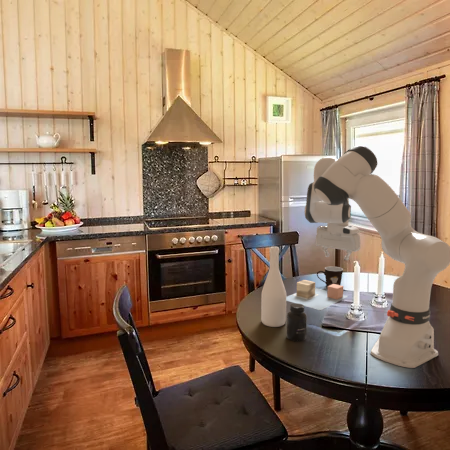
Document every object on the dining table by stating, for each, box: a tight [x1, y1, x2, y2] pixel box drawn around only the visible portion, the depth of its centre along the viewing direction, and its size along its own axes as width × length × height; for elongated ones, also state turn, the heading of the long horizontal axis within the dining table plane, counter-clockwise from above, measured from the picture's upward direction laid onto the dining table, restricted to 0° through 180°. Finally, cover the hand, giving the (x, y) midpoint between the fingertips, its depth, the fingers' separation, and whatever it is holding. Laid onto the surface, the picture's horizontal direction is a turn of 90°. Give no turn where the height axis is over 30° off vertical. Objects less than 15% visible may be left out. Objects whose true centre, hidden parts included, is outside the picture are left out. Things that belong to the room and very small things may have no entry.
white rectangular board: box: [286, 287, 349, 311], centre depth 180 cm, size 24×20×1 cm
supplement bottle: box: [286, 303, 308, 342], centre depth 141 cm, size 7×7×12 cm
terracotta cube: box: [326, 284, 344, 299], centre depth 180 cm, size 5×5×5 cm
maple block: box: [296, 279, 316, 298], centre depth 182 cm, size 6×6×6 cm
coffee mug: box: [316, 265, 344, 288], centre depth 196 cm, size 12×9×10 cm
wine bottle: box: [260, 245, 287, 328], centre depth 153 cm, size 10×10×30 cm
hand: (336, 258), depth 177 cm, fingers open, 8 cm apart
